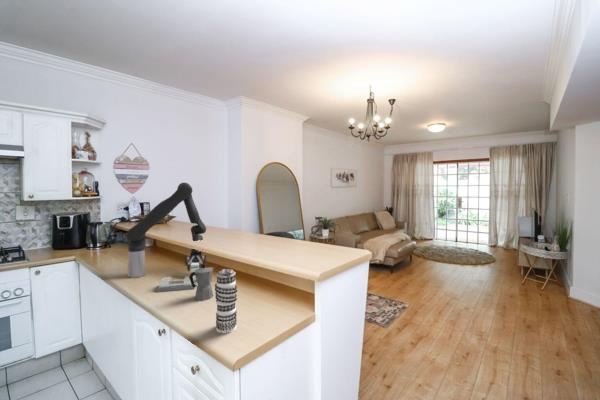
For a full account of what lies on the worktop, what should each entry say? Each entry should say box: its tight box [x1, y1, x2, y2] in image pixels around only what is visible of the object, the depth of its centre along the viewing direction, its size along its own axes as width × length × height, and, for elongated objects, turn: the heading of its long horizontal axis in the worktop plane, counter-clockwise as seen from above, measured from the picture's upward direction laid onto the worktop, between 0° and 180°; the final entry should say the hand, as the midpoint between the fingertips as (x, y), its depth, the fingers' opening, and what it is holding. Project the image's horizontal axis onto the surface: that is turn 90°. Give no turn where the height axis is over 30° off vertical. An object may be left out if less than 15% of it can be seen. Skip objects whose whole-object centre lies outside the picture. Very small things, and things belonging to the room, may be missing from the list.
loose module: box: [190, 262, 200, 279], centre depth 177 cm, size 4×4×9 cm
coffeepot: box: [188, 264, 215, 301], centre depth 144 cm, size 15×9×18 cm, turn 147°
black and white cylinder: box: [214, 268, 238, 334], centre depth 114 cm, size 9×9×25 cm
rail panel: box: [156, 275, 197, 293], centre depth 160 cm, size 20×12×5 cm, turn 105°
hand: (194, 270), depth 176 cm, fingers open, 7 cm apart
